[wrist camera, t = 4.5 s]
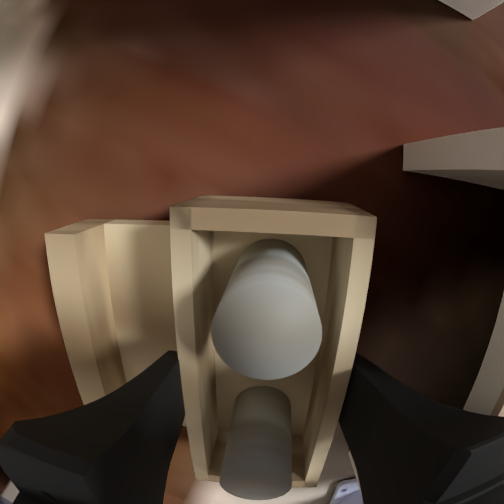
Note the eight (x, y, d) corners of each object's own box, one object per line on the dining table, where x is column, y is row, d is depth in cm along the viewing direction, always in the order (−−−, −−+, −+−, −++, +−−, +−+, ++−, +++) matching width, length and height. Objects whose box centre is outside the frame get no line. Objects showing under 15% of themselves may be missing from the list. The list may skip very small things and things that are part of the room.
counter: (466, 426, 16) (518, 499, 8) (348, 453, 16) (381, 561, 8) (531, 177, 12) (640, 192, 4) (403, 144, 12) (556, 121, 4)
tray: (311, 434, 14) (317, 513, 9) (121, 411, 15) (83, 474, 10) (347, 202, 11) (399, 228, 6) (86, 196, 12) (-1, 216, 7)
